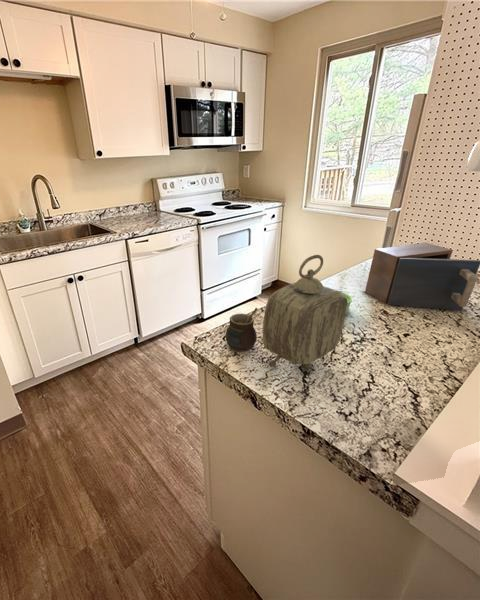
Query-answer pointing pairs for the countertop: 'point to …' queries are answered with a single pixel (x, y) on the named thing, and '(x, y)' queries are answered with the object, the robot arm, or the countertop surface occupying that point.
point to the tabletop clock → (304, 319)
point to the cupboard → (388, 262)
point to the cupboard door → (433, 283)
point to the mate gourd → (241, 332)
